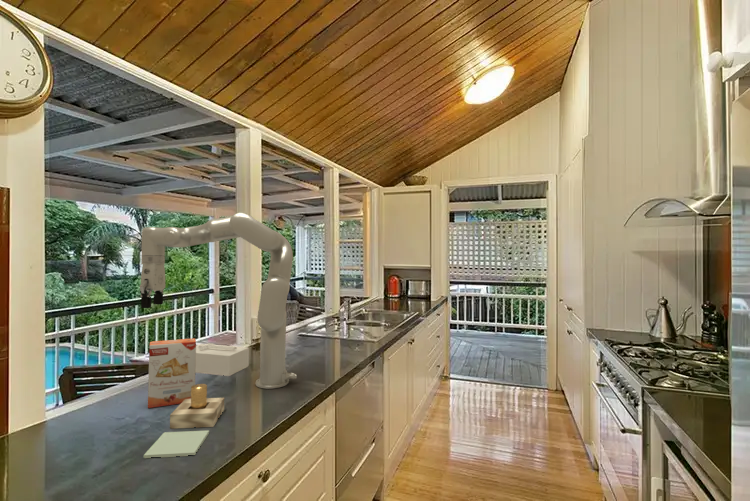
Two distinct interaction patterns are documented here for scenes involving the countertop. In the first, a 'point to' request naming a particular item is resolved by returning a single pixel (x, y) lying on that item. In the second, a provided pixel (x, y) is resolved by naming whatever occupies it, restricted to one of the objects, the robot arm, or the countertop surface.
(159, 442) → the green mat
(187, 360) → the cracker box
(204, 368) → the tissue box
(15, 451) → the countertop surface
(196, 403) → the brass plug
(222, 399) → the bored block
